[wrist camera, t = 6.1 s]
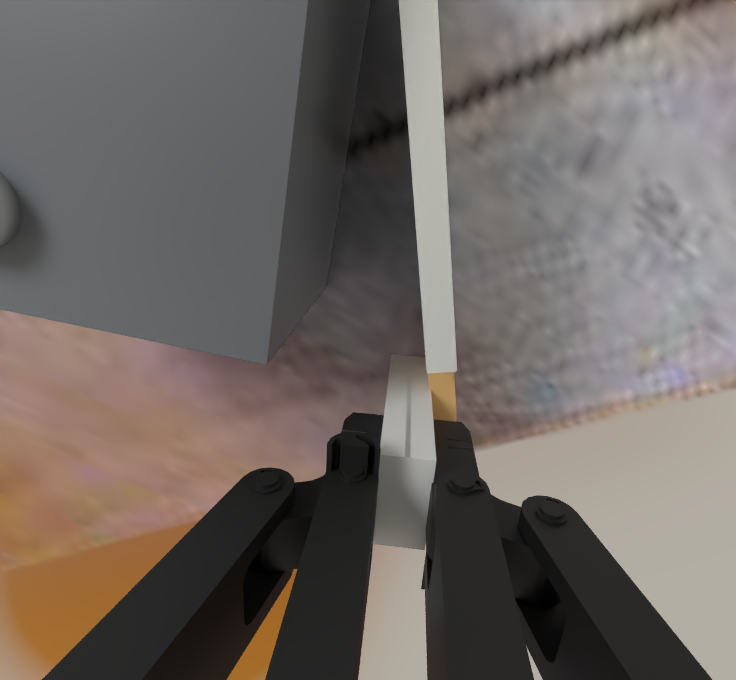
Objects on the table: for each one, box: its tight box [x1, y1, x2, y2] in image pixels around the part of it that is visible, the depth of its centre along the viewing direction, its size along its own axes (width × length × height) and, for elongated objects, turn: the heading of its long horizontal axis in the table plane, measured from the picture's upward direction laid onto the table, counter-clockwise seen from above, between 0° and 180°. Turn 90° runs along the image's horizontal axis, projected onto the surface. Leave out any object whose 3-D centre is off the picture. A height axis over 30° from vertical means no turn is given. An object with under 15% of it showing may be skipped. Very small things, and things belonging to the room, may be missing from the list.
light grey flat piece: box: [399, 0, 457, 422], centre depth 14 cm, size 16×1×7 cm, turn 6°
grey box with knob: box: [0, 0, 371, 365], centre depth 13 cm, size 13×10×9 cm
